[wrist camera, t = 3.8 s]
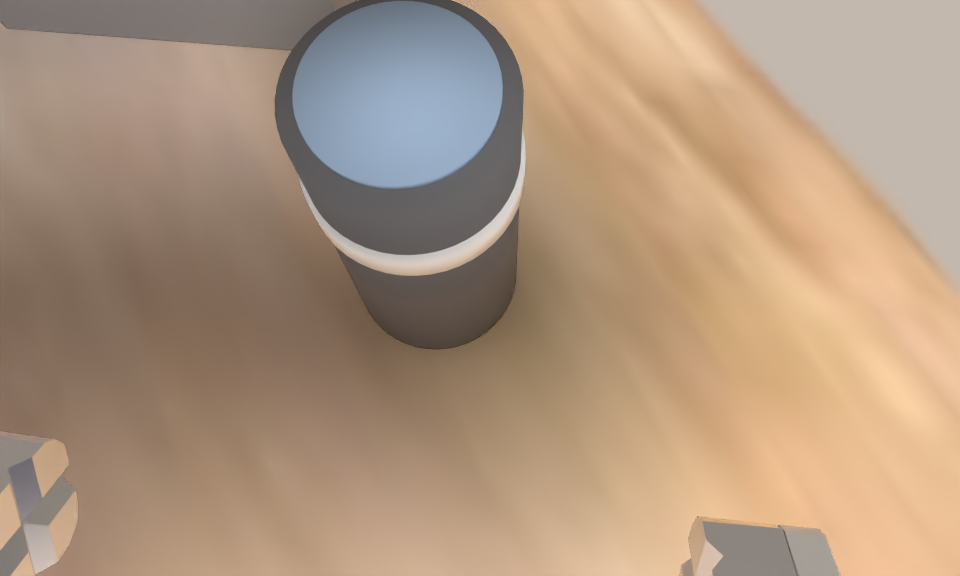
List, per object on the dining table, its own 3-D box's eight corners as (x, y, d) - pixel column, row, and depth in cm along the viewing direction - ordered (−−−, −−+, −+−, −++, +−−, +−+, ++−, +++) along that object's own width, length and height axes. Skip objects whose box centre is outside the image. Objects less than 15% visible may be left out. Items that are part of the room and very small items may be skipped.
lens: (344, 343, 25) (242, 196, 15) (369, 192, 26) (292, -29, 17) (511, 360, 25) (515, 220, 15) (526, 206, 26) (539, -11, 16)
